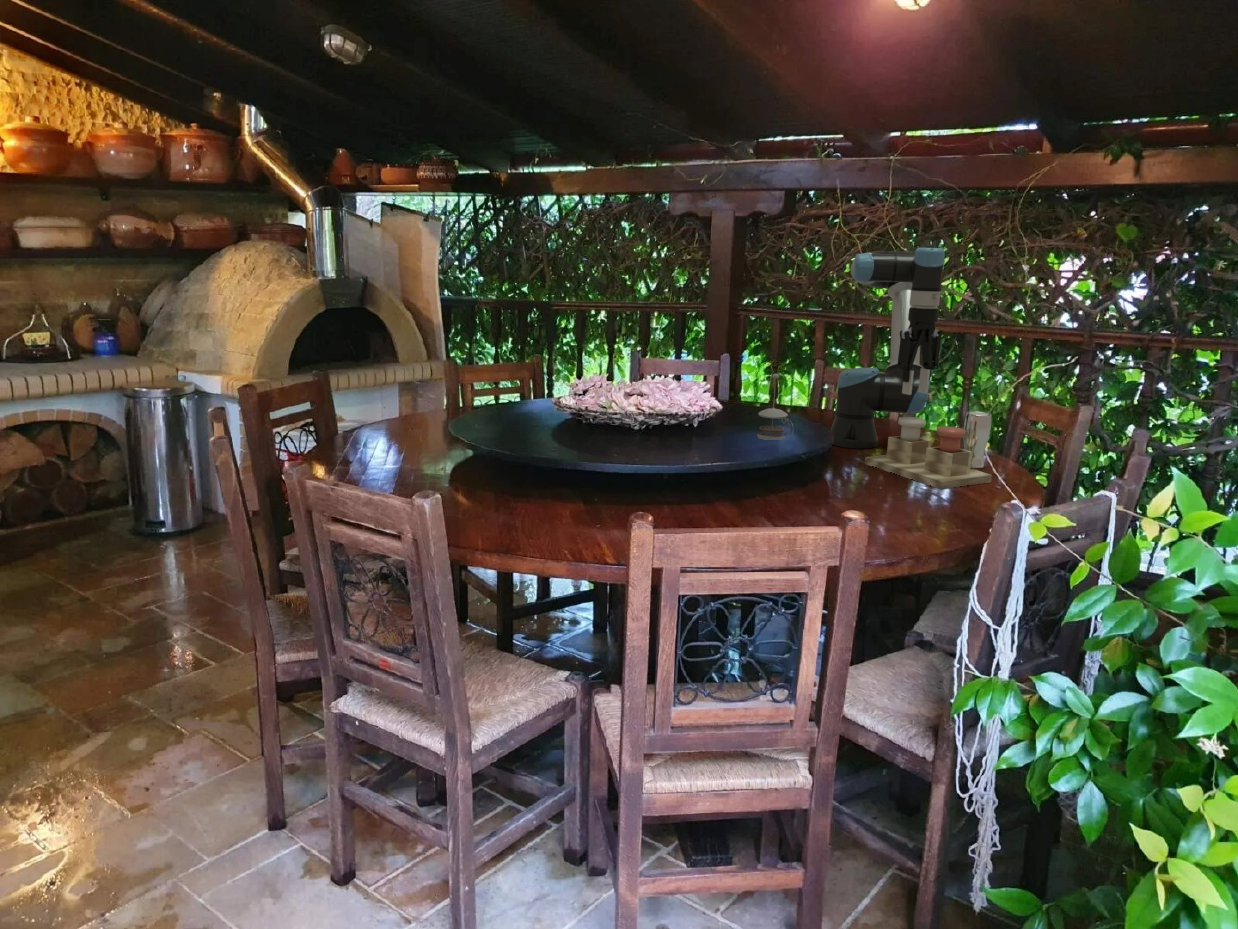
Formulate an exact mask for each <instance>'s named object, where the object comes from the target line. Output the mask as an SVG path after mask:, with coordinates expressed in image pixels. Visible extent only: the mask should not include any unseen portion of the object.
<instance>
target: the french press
mask: <svg viewBox="0 0 1238 929" xmlns="http://www.w3.org/2000/svg"><path fill="white" fill-rule="evenodd" d="M771 378H772V379H774V385H776V383H777V382H776V380H777V379H779V378H780V374H779V373H773V374H772V375H771ZM773 391H774V392H773V400H775V396H776V387H774V390H773ZM772 403H773V405H772V407H771V408H765V409H762V410H760V411H759V412H758V416H759V417H761V418H766V419H772V421H771V425H761V426H759V427H758V429H759V430H760V431H758V432H757V437H758V438H759V439H763V440H782V441H783V439H786V438H787V436H788V437H789V436H790V432H791V436H792V437H793V436H794V424H793V422H792V421H791V419H789V418H788V416H789V415H788V413H787V412H785V411H784V410H782V409H778V408H775V402H772ZM774 419H776V420H777V419H781V423H782V424H786V423H788V424H787V425H788V434H787V436H786V433H783V432H785V430H786V429H785V428H784V427H783V426H778V425H773V424H774ZM783 420H784V421H783ZM790 424H791V425H790ZM791 427H792V430H791ZM768 435H769V436H768ZM774 436H780V437H774Z"/></svg>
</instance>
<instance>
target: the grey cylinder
mask: <svg viewBox="0 0 1238 929" xmlns="http://www.w3.org/2000/svg"><path fill="white" fill-rule="evenodd" d="M897 424H898V425H899V426H901V429H900V436H901V437H900V439H901V440H904V441H908V442H915V441H919V438H921V428H924V427H925V426H926V425H925V424H926V419H924V418H922V417H921V418H920V417H915V416H914V417H913V416H900V417H899V418H898V422H897Z"/></svg>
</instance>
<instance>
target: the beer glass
mask: <svg viewBox="0 0 1238 929" xmlns="http://www.w3.org/2000/svg"><path fill="white" fill-rule="evenodd" d="M963 424H964V425H963V429H965V430H966V435H965V437H963V449H964V450H967V451H971V452H972V458H971V466H970V469H983V468H984V467H985V459H984V458H985V456H984V455H985V452H986V448H987V445H988V441H989V440H990V436H991V435H990V434H991V430H992V428H991V427H992V413H990V412H985V411H971V410H970V411H967V412H966V414H965V418H964V423H963Z"/></svg>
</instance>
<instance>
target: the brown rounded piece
mask: <svg viewBox="0 0 1238 929" xmlns="http://www.w3.org/2000/svg"><path fill="white" fill-rule="evenodd" d="M936 434H937V435H938V436H940V438H939V439H940V440H939V450H940V451H944V452H947V453H957V452H959V450H960V449H961V443H962V442H961V440H962V439H964V437H965V435H966V430H965V429H964V428H961V427H954V426H938V427H937V430H936Z"/></svg>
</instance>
